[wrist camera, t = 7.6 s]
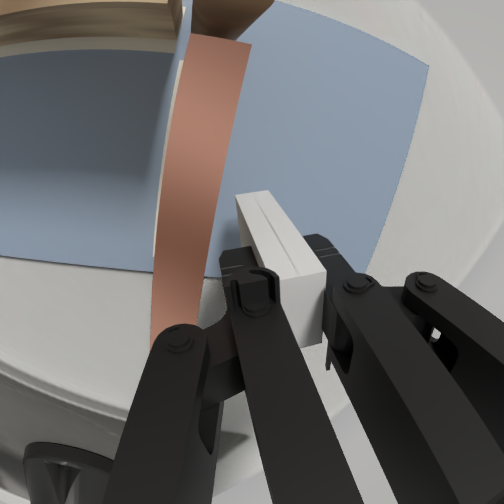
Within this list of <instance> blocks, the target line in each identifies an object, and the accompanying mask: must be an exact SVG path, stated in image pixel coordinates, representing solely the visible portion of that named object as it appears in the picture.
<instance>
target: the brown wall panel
mask: <svg viewBox="0 0 504 504" xmlns="http://www.w3.org/2000/svg"><path fill="white" fill-rule="evenodd" d="M274 1H275V0H193V4H192V18H191V33H193V34H200V35H206V36H212V37H218V38H223V39H229V40H234V41H236V40H237V39H238V38H239V37H240V36H241V35H242V34H243V33H244V32H245V31H246V30H247V29H248V28H249V27H250V26H251V25H252V24H253V23H254V22H255V21H256V20H257V19H258V18H259V17H260V16H261V15H262V14H263V13H264V12H265V11H266V10H267V9H268V8H269V7H270V6H271V5H272V4H273V3H274ZM182 19H183V8H182V0H0V46H3V45H9V44H15V43H22V42H29V41H37V40H46V39H57V38H72V37H140V38H155V39H167V40H177V39H178V35H179V31H180V27H181V23H182Z"/></svg>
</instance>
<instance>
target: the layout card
mask: <svg viewBox="0 0 504 504" xmlns="http://www.w3.org/2000/svg"><path fill="white" fill-rule="evenodd" d="M192 4H193V0H182V8H183V19H182V23H181V27H180V31H179V35H178V39H177V40H167V39H155V38H140V37H72V38H57V39H46V40H37V41H29V42H22V43H15V44H9V45H3V46H0V255H2V256H10V257H18V258H26V259H34V260H43V261H51V262H60V263H69V264H78V265H87V266H97V267H107V268H117V269H127V270H137V271H148V272H153V268H154V255H155V243H156V232H157V221H158V212H159V203H160V194H161V186H162V179H163V171H164V164H165V158H166V151H167V145H168V138H169V132H170V127H171V121H172V115H173V110H174V105H175V100H176V94H177V90H178V85H179V80H180V75H181V71H182V66H183V62H184V58H185V53H186V49H187V45H188V41H189V37H190V33H191V18H192ZM236 41H239V42H243V43H248V44H252V47H251V51H250V55H249V59H248V63H247V67H246V71H245V75H244V79H243V84H242V88H241V92H240V97H239V101H238V105H237V110H236V114H235V119H234V123H233V128H232V132H231V137H230V142H229V147H228V151H227V156H226V161H225V166H224V171H223V176H222V181H221V186H220V191H219V196H218V201H217V207H216V212H215V217H214V223H213V228H212V234H211V239H210V245H209V251H208V256H207V262H206V268H205V274H204V276H207V277H220V278H222V276H221V270H220V264H219V258H220V256H221V254H222V252H223V251H224V250H230V249H235V248H241V241H240V233H239V225H238V217H237V209H236V200H235V195H238V194H245V193H251V192H258V191H265V190H268V191H269V192H270V193H271V195H272V196H273V197H274V199H275V200H276V201H277V203H278V204H279V205H280V207H281V208H282V209H283V211H284V212H285V214H286V215H287V216H288V218H289V219H290V220H291V222H292V223H293V225H294V226H295V227H296V229H297V230H298V231H299V233H300V234H301V236H305V235H311V234H317V233H318V234H320V235H322V236H323V237H325V238H327V239H329V241H330V242H331V243H332V244H333V245H334V248H336V249H337V250H338V251H339V254H341V255H342V256H343V257H344V259H345V260H346V261H347V262H348V263H349V265H350V266H351V267H352V268H353V270H354V271H355V272H357V273H364V274H365V272H366V270H367V267H368V265H369V262H370V260H371V257H372V255H373V252H374V250H375V247H376V245H377V242H378V240H379V237H380V234H381V232H382V229H383V226H384V224H385V221H386V218H387V215H388V213H389V210H390V207H391V204H392V201H393V198H394V195H395V192H396V189H397V186H398V183H399V180H400V177H401V174H402V171H403V167H404V164H405V161H406V157H407V154H408V151H409V147H410V144H411V140H412V137H413V133H414V129H415V125H416V122H417V118H418V114H419V110H420V106H421V101H422V97H423V93H424V88H425V84H426V79H427V74H428V70H429V65H427V64H425V63H424V62H422V61H420V60H418V59H417V58H415V57H413V56H411V55H409V54H408V53H406V52H404V51H402V50H400V49H398V48H396V47H394V46H392V45H391V44H389V43H387V42H384V41H382V40H380V39H378V38H376V37H374V36H372V35H370V34H367V33H365V32H363V31H361V30H358V29H356V28H354V27H351V26H349V25H347V24H344V23H342V22H339V21H336V20H334V19H331V18H329V17H326V16H323V15H320V14H317V13H315V12H312V11H309V10H306V9H303V8H299V7H296V6H293V5H289V4H286V3H283V2H279V1H274V3H273V4H272V5H271V6H270V7H269V8H268V9H267V10H266V11H265V12H264V13H263V14H262V15H261V16H260V17H259V18H258V19H257V20H256V21H255V22H254V23H253V24H252V25H251V26H250V27H249V28H248V29H247V30H246V31H245V32H244V33H243V34H242V35H241V36H240V37H239V38H238V39H237V40H236Z"/></svg>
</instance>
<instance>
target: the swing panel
mask: <svg viewBox="0 0 504 504" xmlns="http://www.w3.org/2000/svg"><path fill="white" fill-rule="evenodd" d="M251 47H252V44H248V43H243V42H239V41H234V40H229V39H223V38H218V37H212V36H206V35H200V34H193V33H190V37H189V41H188V45H187V49H186V53H185V58H184V62H183V66H182V71H181V75H180V80H179V85H178V90H177V94H176V100H175V105H174V110H173V115H172V121H171V127H170V132H169V138H168V145H167V151H166V158H165V164H164V171H163V179H162V186H161V194H160V203H159V212H158V221H157V232H156V243H155V255H154V268H153V284H152V305H151V339H150V351H151V348H152V346H153V343H154V341H155V339H156V337H157V336H158V334H160V333H161V332H162V331H163V330H165V329H166V328H168V327H171V326H173V325H176V324H184V323H186V324H193V325H196V324H197V318H198V311H199V305H200V299H201V292H202V286H203V280H204V274H205V268H206V262H207V256H208V251H209V245H210V239H211V234H212V228H213V223H214V217H215V212H216V207H217V201H218V196H219V191H220V186H221V181H222V176H223V171H224V166H225V161H226V156H227V151H228V147H229V142H230V137H231V132H232V128H233V123H234V119H235V114H236V110H237V105H238V101H239V97H240V92H241V88H242V84H243V79H244V75H245V71H246V67H247V63H248V59H249V55H250V51H251Z"/></svg>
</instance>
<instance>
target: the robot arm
mask: <svg viewBox="0 0 504 504" xmlns="http://www.w3.org/2000/svg"><path fill="white" fill-rule="evenodd" d="M235 200H236V209H237V217H238V225H239V233H240V241H241V248H235V249H230V250H224V251H223V252H222V254H221V256H220V258H219V264H220V270H221V276H222V281H223V287H224V293H225V298H226V303H227V311H226V314H225V315H224V317H223V318H222V319H221V320H220V321H218V322H217V323H216V324H214V325H212V326H210V327H208V328H206V329H203V330H202V329H201V328H199V327H198V326H196V325H193V324H186V323H184V324H176V325H173V326H171V327H168V328H166V329H165V330H163V331H162V332H161V333H160V334H158V336H157V337H156V339H155V341H154V343H153V346H152V348H151V351H150V354H149V356H148V359H147V362H146V365H145V368H144V370H143V373H142V376H141V379H140V382H139V385H138V388H137V391H136V393H135V396H134V399H133V402H132V405H131V408H130V411H129V414H128V418H127V421H126V424H125V427H124V430H123V433H122V436H121V440H120V443H119V446H118V449H117V453H116V456H115V459H114V461H112V460H109V459H107V458H105V457H102V456H99V455H96V454H94V453H90V452H87V451H84V450H80V449H77V448H73V447H69V446H64V445H59V444H53V443H31V444H29V445H27V446H26V447H25V452H24V458H23V467H24V472H25V478H26V483H27V488H28V493H29V497H30V502H31V504H211V502H212V494H213V486H214V478H215V470H216V462H217V454H218V446H219V438H220V430H221V422H222V414H223V407H224V400H226V399H228V398H230V397H232V396H234V395H236V394H238V393H240V392H242V391H244V390H245V393H246V397H247V402H248V406H249V410H250V415H251V419H252V423H253V427H254V432H255V436H256V440H257V444H258V448H259V452H260V456H261V460H262V464H263V468H264V472H265V476H266V480H267V484H268V488H269V491H270V495H271V499H272V503H273V504H364V502H363V500H362V497H361V495H360V493H359V490H358V488H357V485H356V483H355V481H354V478H353V475H352V473H351V471H350V468H349V466H348V463H347V461H346V458H345V456H344V454H343V451H342V449H341V446H340V444H339V441H338V439H337V437H336V434H335V432H334V429H333V427H332V425H331V422H330V420H329V417H328V415H327V412H326V410H325V408H324V405H323V403H322V400H321V398H320V396H319V393H318V391H317V388H316V386H315V384H314V381H313V379H312V376H311V374H310V372H309V369H308V367H307V365H306V362H305V360H304V357H303V355H302V353H301V350H300V348H303V347H307V346H311V345H315V344H319V343H322V334H323V332H324V333H325V335H326V337H327V339H328V347H327V355H326V364H325V366H326V371H327V370H330V365H331V362H332V364H333V366H334V368H335V370H336V372H337V374H338V376H339V378H340V380H341V382H342V384H343V386H344V388H345V391H346V393H347V395H348V397H349V399H350V401H351V403H352V405H353V407H354V409H355V411H356V413H357V415H358V418H359V420H360V422H361V424H362V426H363V428H364V430H365V432H366V435H367V437H368V439H369V441H370V443H371V445H372V447H373V450H374V452H375V454H376V456H377V458H378V460H379V462H380V465H381V467H382V469H383V471H384V473H385V476H386V478H387V480H388V482H389V484H390V486H391V489H392V491H393V493H394V496H395V498H396V500H397V502H398V504H504V322H502V321H501V320H500V319H498V318H497V317H496V316H494V315H493V314H492V313H490V312H489V311H487V310H486V309H485V308H483V307H482V306H481V305H479V304H478V303H476V302H475V301H474V300H472V299H471V298H469V297H468V296H466V295H465V294H464V293H462V292H461V291H459V290H458V289H456V288H455V287H453V286H452V285H450V284H449V283H447V282H446V281H444V280H443V279H441V278H440V277H438V276H436V275H434V274H432V273H428V272H414V273H411V274H410V275H408V276H407V277H406V281H405V285H404V286H403V287H383V286H381V285H380V284H379V283H378V282H377V281H376V280H375V279H374V278H373V277H371V276H369V275H366V274H364V273H357V272H355V271H354V270H353V268H352V267H351V266H350V265H349V263H348V262H347V261H346V260H345V259H344V257H343V256H342V255H341V254H339V251H338V250H337V249H336V248H334V245H333V244H332V243H331V242H330V241H329V239H327V238H325V237H323V236H322V235H320V234H318V233H317V234H311V235H305V236H301V234H300V233H299V231H298V230H297V229H296V227H295V226H294V225H293V223H292V222H291V220H290V219H289V218H288V216H287V215H286V214H285V212H284V211H283V209H282V208H281V207H280V205H279V204H278V203H277V201H276V200H275V199H274V197H273V196H272V195H271V193H270V192H269V191H268V190H265V191H258V192H251V193H245V194H238V195H235ZM434 328H436V329H437V330H438V331H440V332H441V335H440V338H439V339H435V338H433V337H432V336H431V335H432V333H433V330H434Z"/></svg>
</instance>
